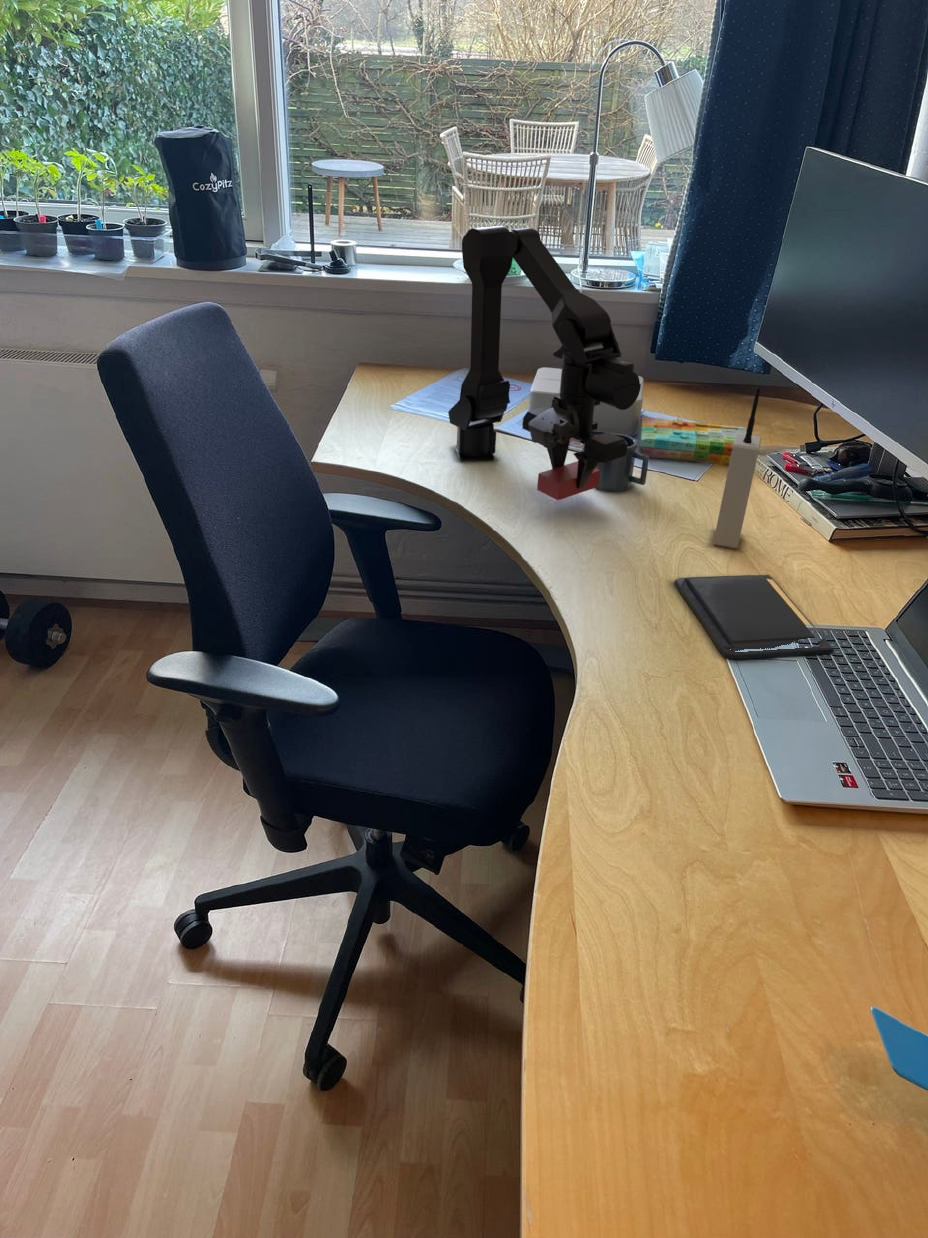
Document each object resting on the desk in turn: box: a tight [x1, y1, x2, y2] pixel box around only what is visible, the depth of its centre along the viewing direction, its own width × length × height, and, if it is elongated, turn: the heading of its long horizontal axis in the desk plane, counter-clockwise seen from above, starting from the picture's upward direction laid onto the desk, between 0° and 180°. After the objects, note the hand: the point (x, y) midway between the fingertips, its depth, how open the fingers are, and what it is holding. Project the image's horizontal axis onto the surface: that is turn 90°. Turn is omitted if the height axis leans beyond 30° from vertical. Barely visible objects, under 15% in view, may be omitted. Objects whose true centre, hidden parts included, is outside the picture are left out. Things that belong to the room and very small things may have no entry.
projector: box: [528, 367, 645, 438], centre depth 188 cm, size 17×22×8 cm
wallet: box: [673, 574, 834, 660], centre depth 126 cm, size 20×2×15 cm
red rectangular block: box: [536, 460, 600, 501], centre depth 153 cm, size 10×5×3 cm, turn 129°
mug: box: [595, 433, 650, 493], centre depth 160 cm, size 10×7×8 cm
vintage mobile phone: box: [712, 386, 762, 550], centre depth 139 cm, size 4×5×25 cm
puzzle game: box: [640, 416, 747, 465], centre depth 175 cm, size 12×5×20 cm
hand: (568, 482), depth 153 cm, fingers closed on red rectangular block, 5 cm apart
